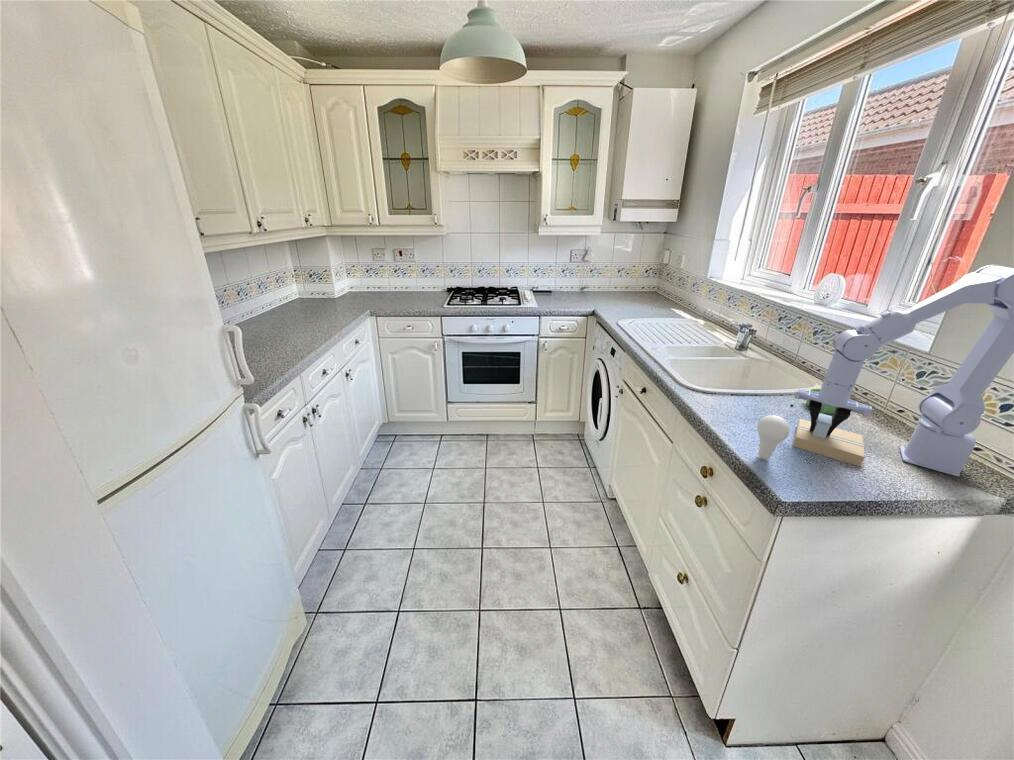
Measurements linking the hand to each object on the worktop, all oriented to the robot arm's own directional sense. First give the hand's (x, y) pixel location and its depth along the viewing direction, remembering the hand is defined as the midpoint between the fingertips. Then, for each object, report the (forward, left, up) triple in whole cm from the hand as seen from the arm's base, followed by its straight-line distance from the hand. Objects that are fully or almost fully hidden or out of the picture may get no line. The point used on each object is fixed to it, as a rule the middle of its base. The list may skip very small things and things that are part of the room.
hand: (819, 431), depth 100 cm
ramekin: (-1, -25, -3) cm, 25 cm away
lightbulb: (+9, +17, -3) cm, 20 cm away
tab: (0, 0, 0) cm, 0 cm away
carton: (-2, 0, -3) cm, 4 cm away
